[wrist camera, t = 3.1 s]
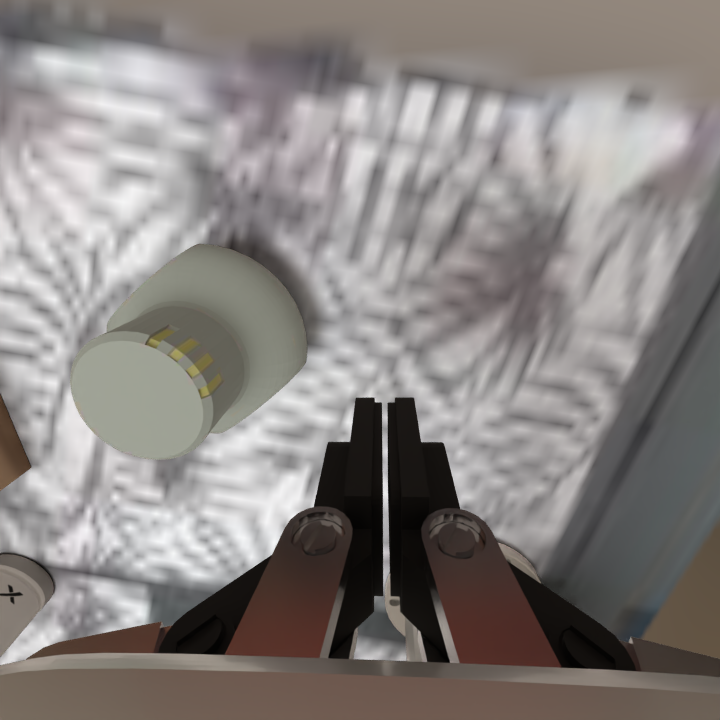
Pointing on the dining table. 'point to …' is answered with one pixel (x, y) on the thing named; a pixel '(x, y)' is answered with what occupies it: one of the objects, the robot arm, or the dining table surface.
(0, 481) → the board
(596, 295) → the dining table surface
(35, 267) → the dining table surface
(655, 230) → the dining table surface
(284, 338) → the air freshener
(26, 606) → the travel mug
